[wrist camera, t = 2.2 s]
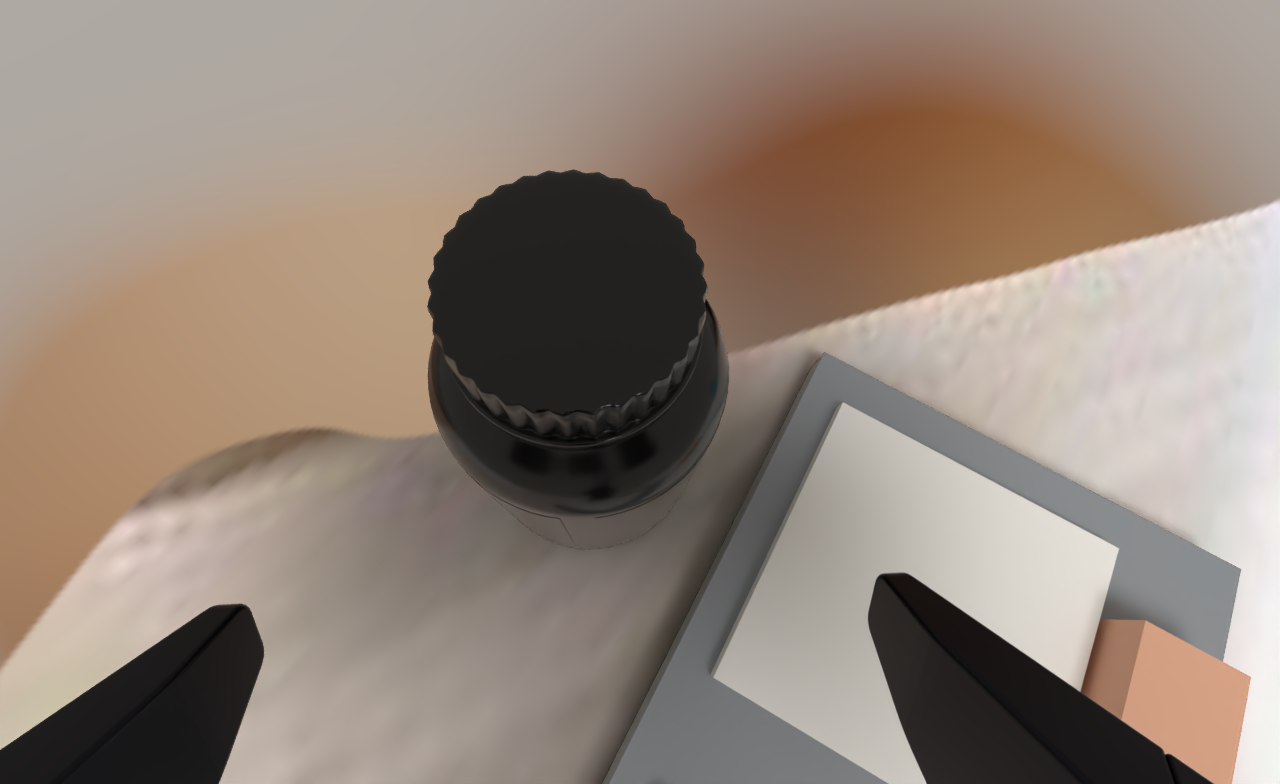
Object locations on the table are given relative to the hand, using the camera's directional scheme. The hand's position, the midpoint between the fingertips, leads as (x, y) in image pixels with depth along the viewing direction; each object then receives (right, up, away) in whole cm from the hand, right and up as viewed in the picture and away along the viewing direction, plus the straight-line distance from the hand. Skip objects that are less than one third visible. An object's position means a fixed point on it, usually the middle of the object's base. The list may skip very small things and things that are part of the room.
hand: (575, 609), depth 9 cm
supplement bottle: (-1, +1, +13) cm, 13 cm away
